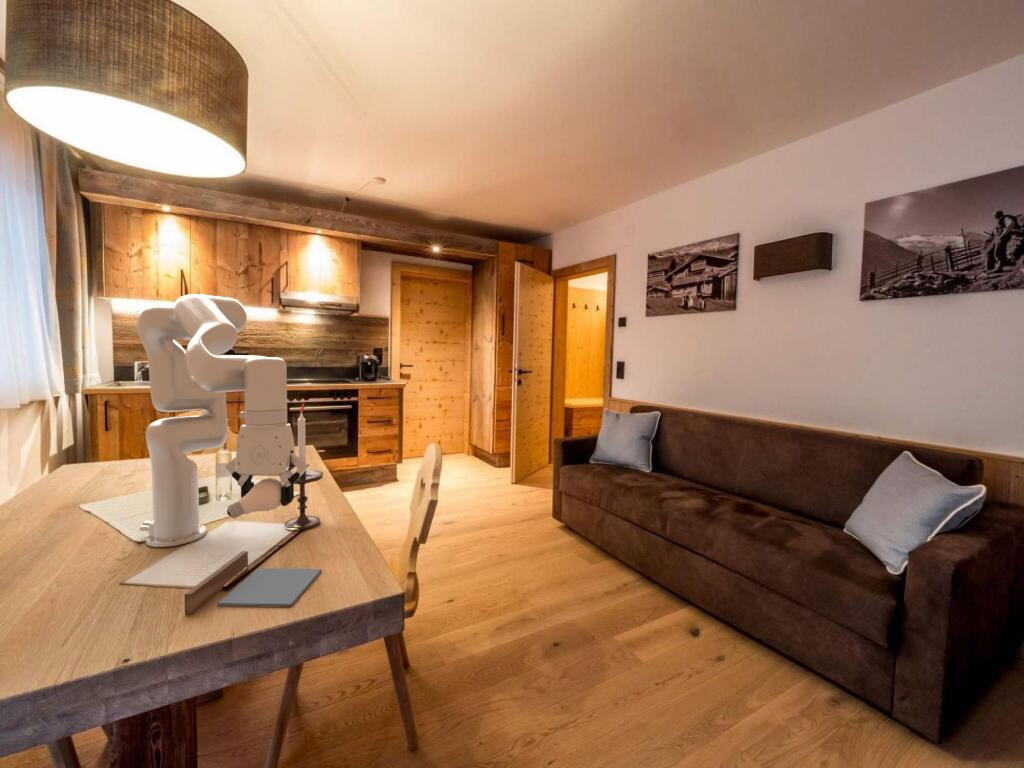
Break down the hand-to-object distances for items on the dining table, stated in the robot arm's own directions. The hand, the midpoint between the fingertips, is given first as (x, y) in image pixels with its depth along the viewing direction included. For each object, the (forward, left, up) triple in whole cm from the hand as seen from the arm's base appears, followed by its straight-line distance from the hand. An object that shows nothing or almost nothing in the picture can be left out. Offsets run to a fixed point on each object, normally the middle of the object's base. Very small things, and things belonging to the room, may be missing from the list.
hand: (267, 503), depth 91 cm
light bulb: (-1, -2, -2) cm, 3 cm away
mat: (+1, 0, -18) cm, 18 cm away
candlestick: (-9, +34, -18) cm, 40 cm away
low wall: (-10, -1, -18) cm, 20 cm away
